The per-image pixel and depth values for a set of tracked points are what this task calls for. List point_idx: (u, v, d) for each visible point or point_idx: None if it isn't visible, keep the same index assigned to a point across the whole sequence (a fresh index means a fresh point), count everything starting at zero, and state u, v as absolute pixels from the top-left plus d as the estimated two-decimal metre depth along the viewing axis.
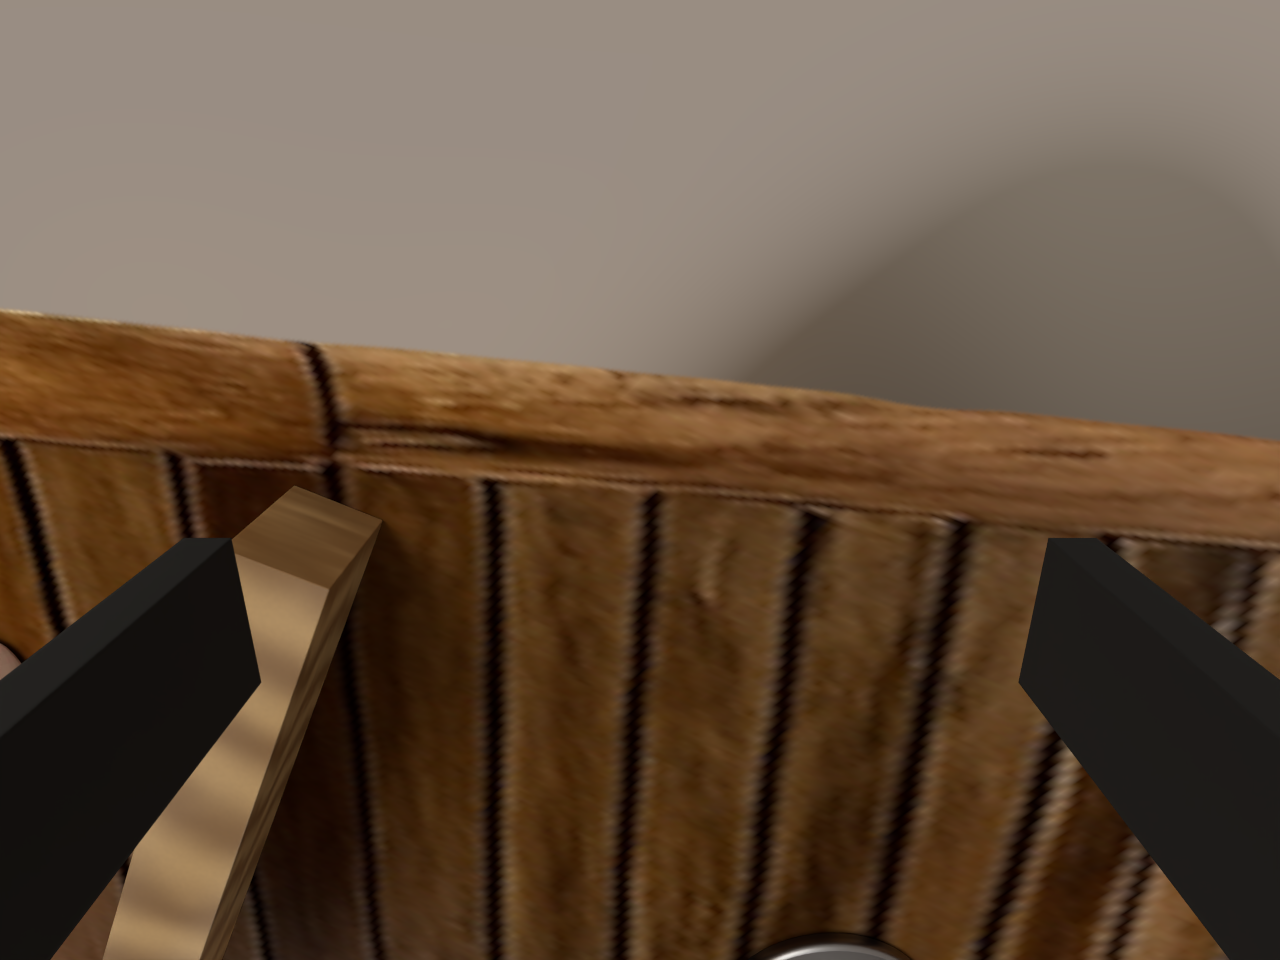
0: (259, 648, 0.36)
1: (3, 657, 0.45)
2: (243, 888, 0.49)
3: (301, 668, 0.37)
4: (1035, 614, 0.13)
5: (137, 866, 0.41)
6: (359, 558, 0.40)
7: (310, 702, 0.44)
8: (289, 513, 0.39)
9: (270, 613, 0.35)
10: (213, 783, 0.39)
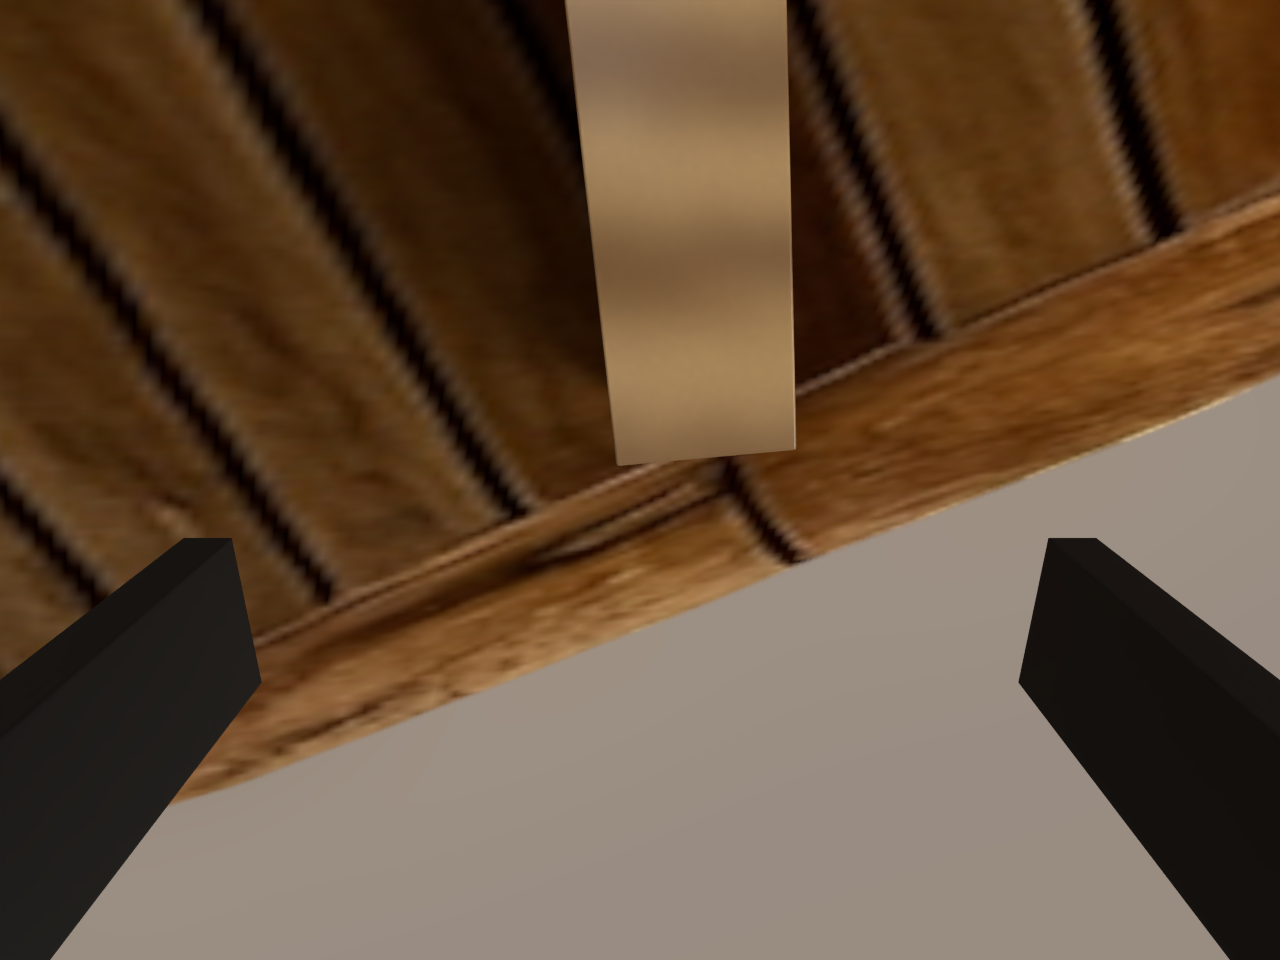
0: (679, 299, 0.20)
1: None
2: None
3: (598, 295, 0.20)
4: (1035, 613, 0.13)
5: None
6: None
7: None
8: None
9: (686, 378, 0.21)
10: None
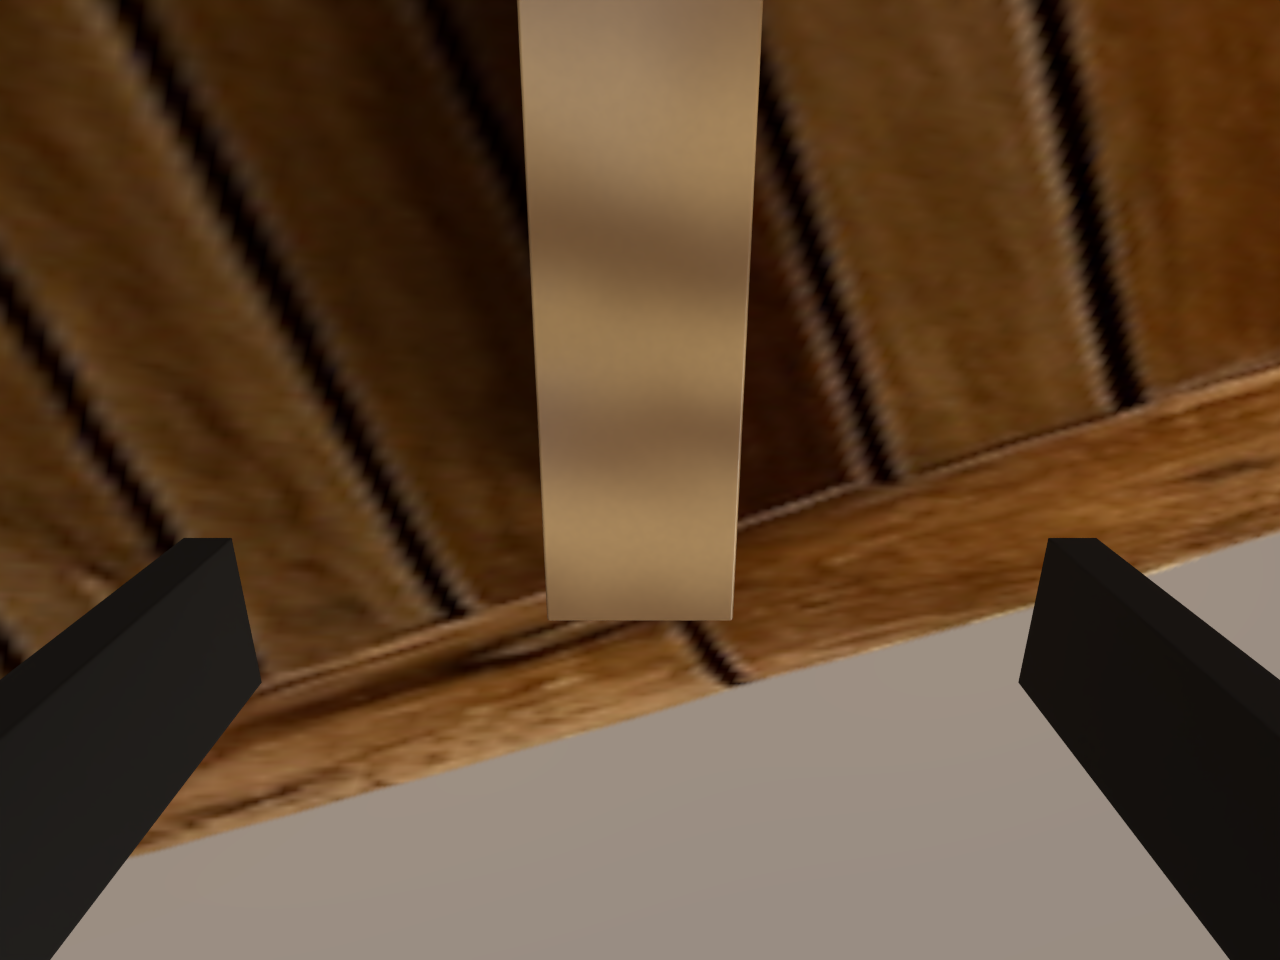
0: (623, 467, 0.19)
1: None
2: None
3: (540, 456, 0.19)
4: (1035, 613, 0.13)
5: None
6: None
7: None
8: None
9: (625, 543, 0.20)
10: (627, 71, 0.16)
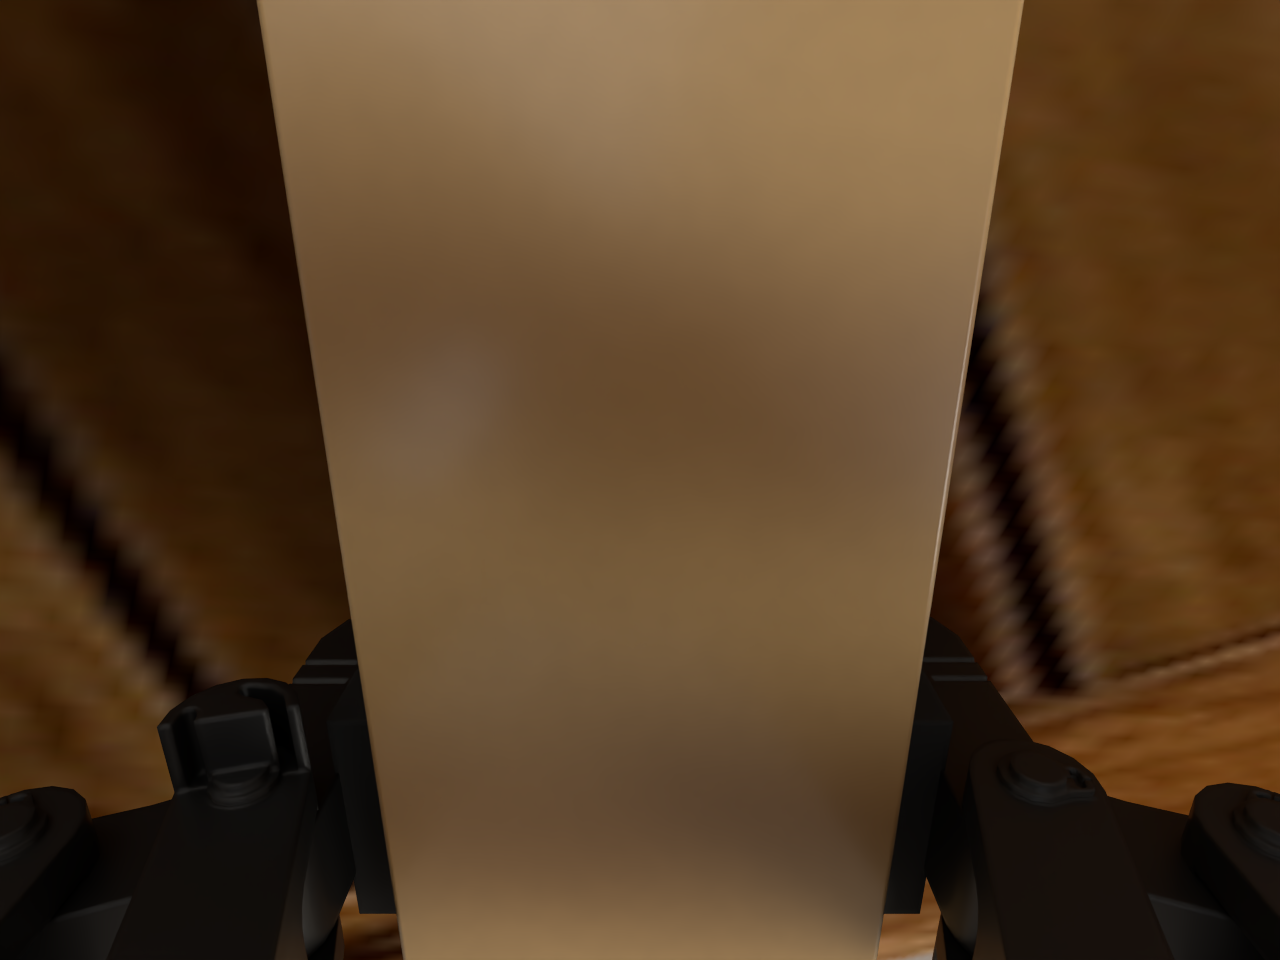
0: (599, 888, 0.08)
1: None
2: None
3: (390, 863, 0.08)
4: None
5: None
6: None
7: None
8: None
9: None
10: None
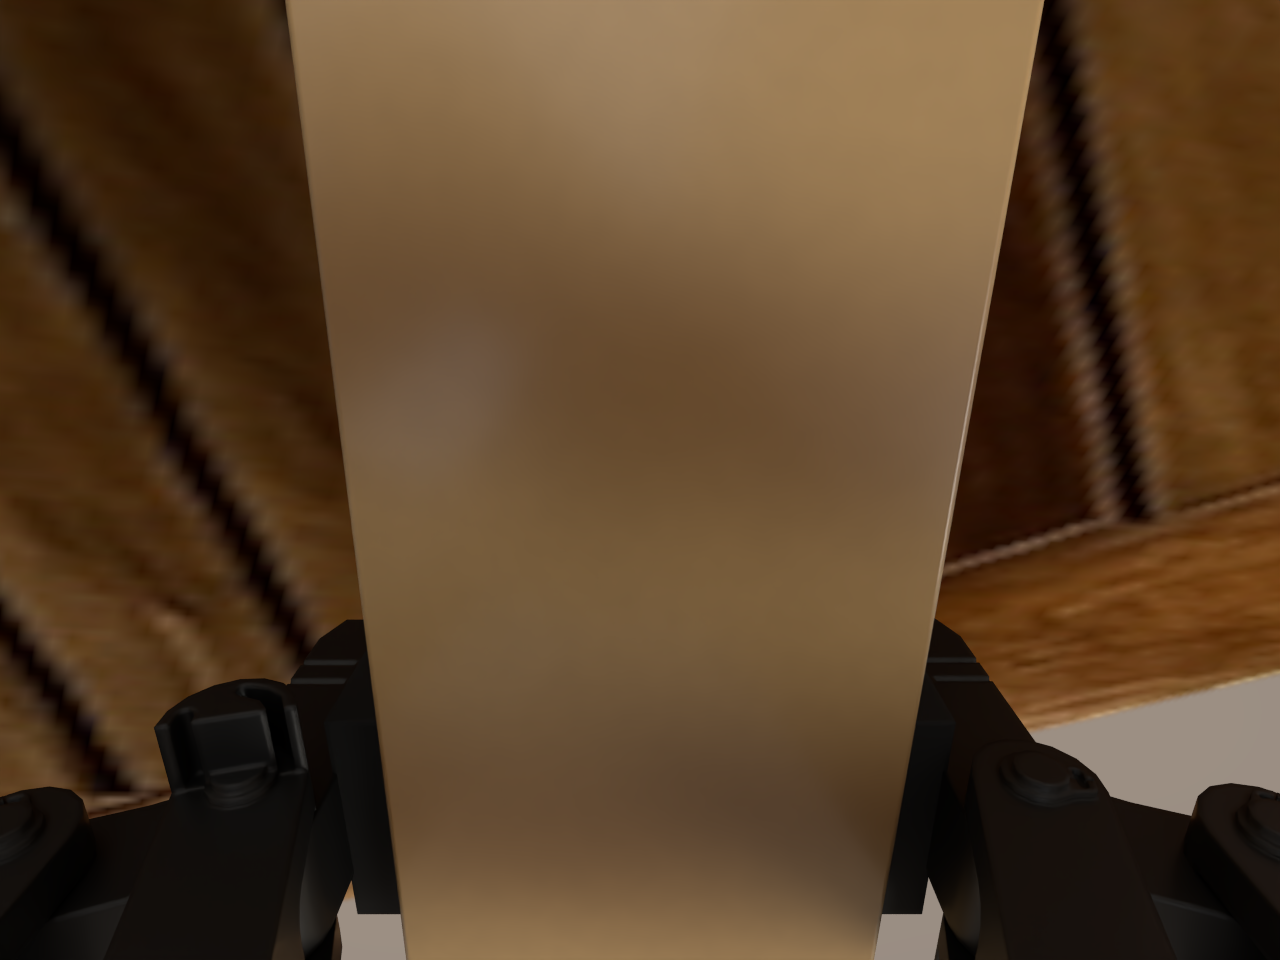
0: (602, 883, 0.08)
1: None
2: None
3: (395, 854, 0.08)
4: None
5: None
6: None
7: None
8: None
9: None
10: None
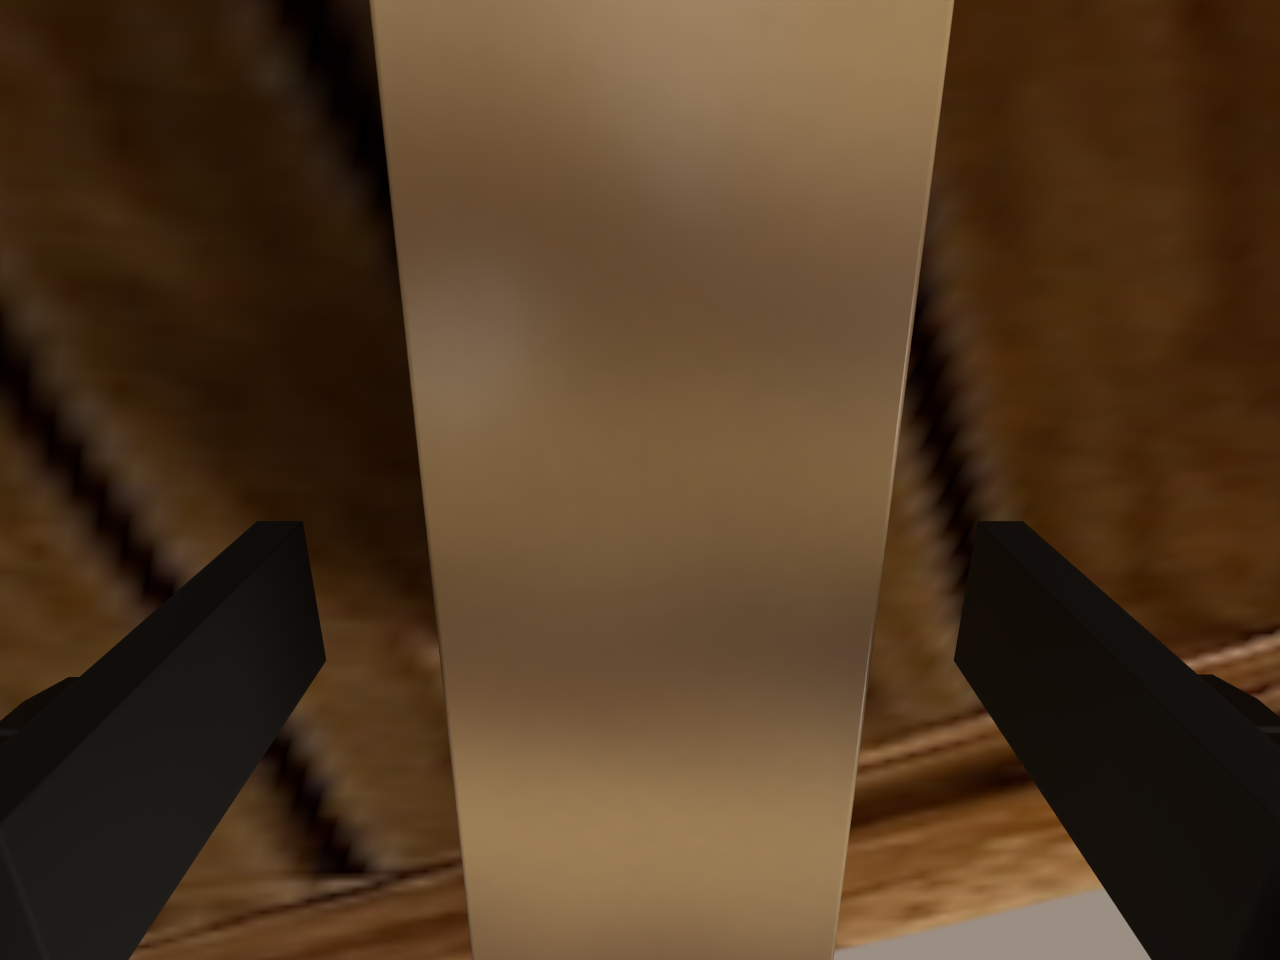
0: (621, 719, 0.09)
1: None
2: None
3: (446, 697, 0.09)
4: (967, 594, 0.13)
5: None
6: None
7: None
8: None
9: (624, 853, 0.10)
10: None
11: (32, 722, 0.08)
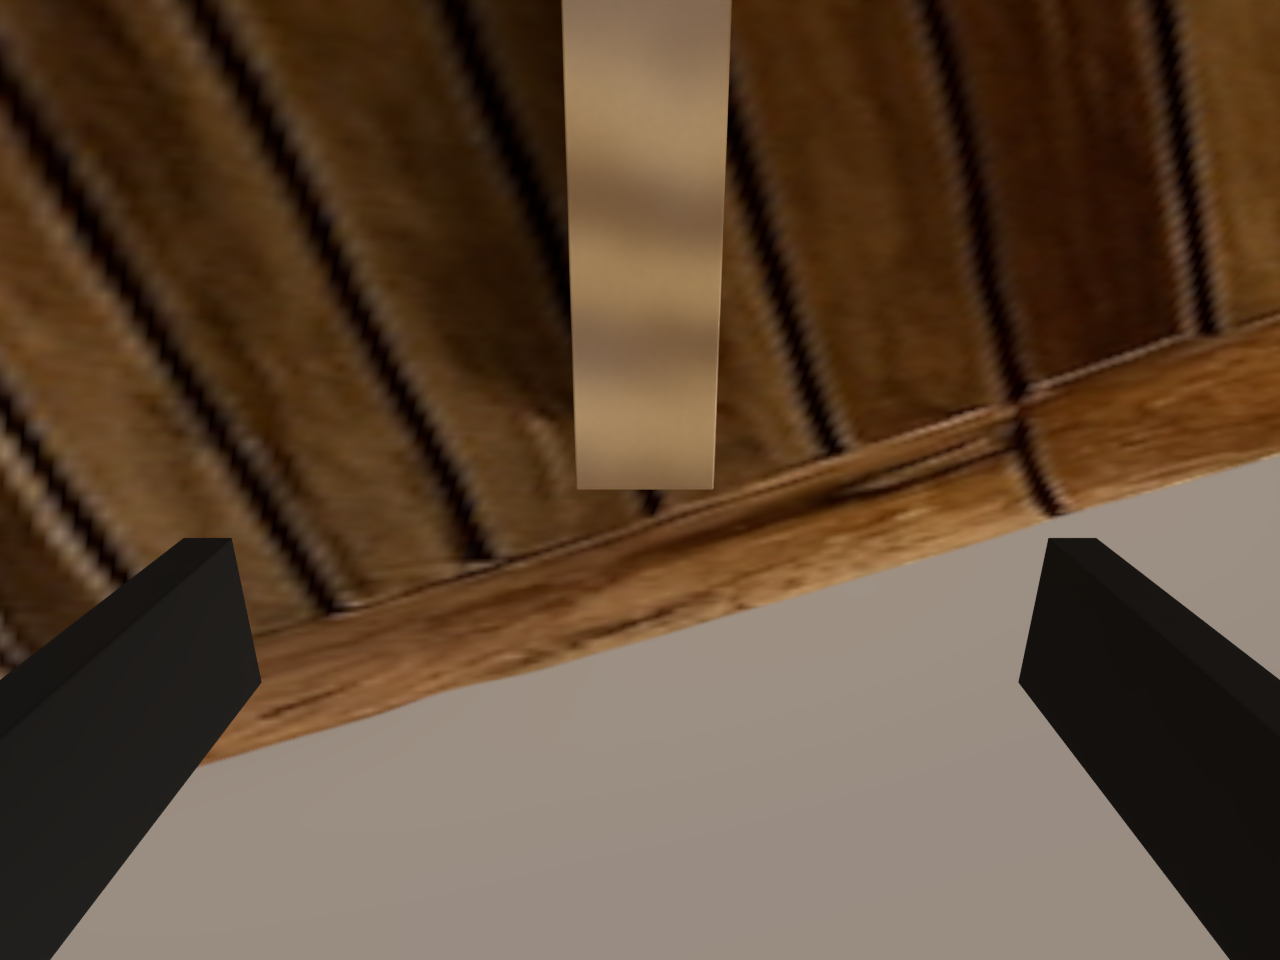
0: (633, 370, 0.26)
1: None
2: None
3: (573, 362, 0.26)
4: (1035, 614, 0.13)
5: None
6: None
7: None
8: None
9: (634, 429, 0.27)
10: (637, 84, 0.23)
11: None
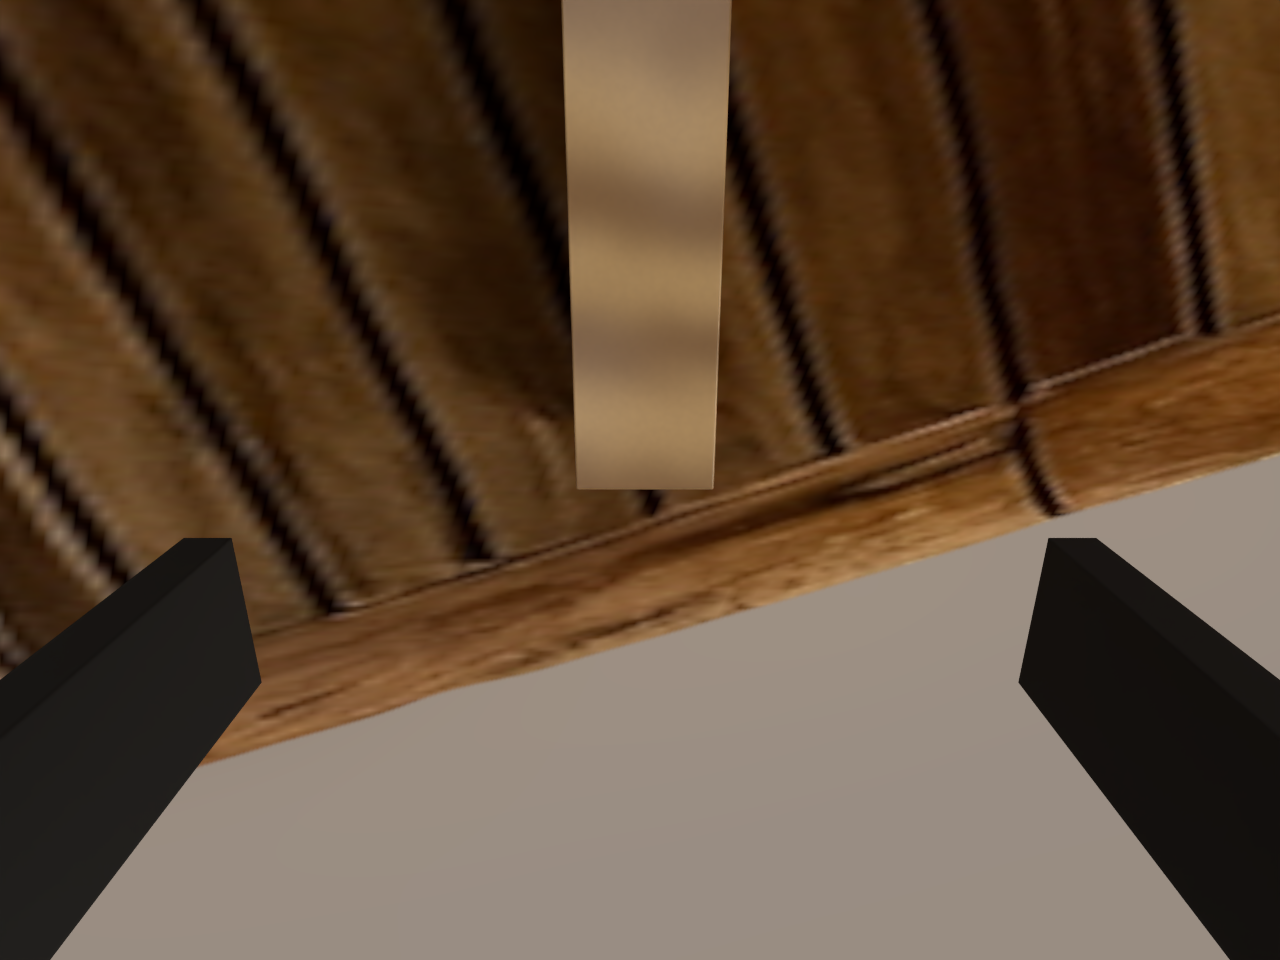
0: (633, 370, 0.26)
1: None
2: None
3: (573, 362, 0.26)
4: (1035, 614, 0.13)
5: None
6: None
7: None
8: None
9: (634, 429, 0.27)
10: (637, 84, 0.23)
11: None
